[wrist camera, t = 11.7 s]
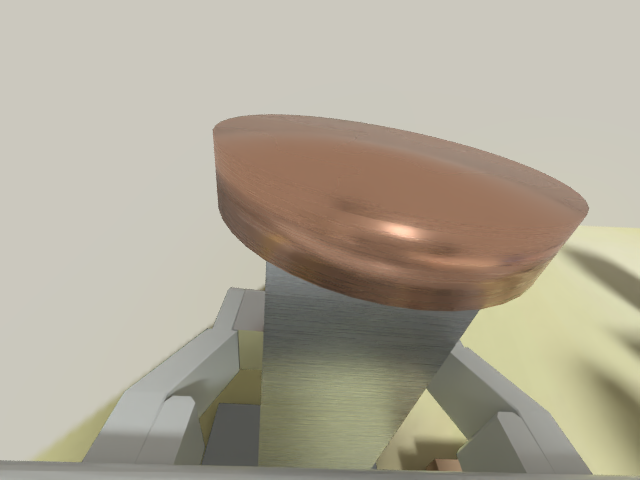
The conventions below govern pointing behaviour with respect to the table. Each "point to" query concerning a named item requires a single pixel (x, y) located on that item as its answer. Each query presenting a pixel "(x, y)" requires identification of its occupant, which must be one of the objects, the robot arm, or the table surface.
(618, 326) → the table surface
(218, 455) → the charcoal mat
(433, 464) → the brown wooden square frame
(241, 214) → the copper-capped steel post
